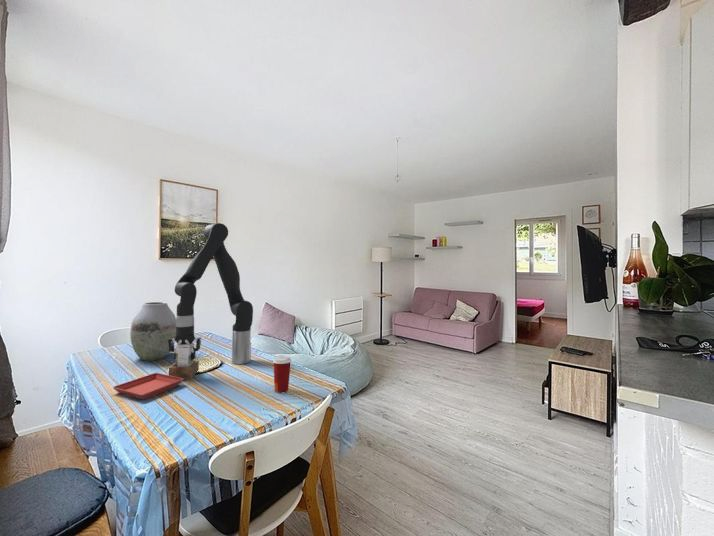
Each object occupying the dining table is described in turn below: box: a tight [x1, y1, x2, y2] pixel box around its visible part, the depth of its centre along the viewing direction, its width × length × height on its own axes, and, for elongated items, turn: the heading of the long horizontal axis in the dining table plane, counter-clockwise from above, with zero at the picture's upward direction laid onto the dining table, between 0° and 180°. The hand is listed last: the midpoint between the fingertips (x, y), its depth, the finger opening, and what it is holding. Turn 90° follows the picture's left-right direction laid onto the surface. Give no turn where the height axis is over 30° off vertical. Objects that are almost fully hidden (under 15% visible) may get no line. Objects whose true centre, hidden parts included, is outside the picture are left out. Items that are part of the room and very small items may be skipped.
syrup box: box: [175, 341, 195, 367], centre depth 143 cm, size 6×6×14 cm
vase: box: [129, 301, 177, 362], centre depth 168 cm, size 21×21×30 cm
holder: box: [168, 359, 200, 380], centre depth 143 cm, size 10×10×6 cm
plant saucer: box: [112, 372, 184, 400], centre depth 127 cm, size 18×18×3 cm
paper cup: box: [272, 354, 292, 394], centre depth 130 cm, size 8×8×14 cm
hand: (184, 360), depth 143 cm, fingers closed on syrup box, 6 cm apart
